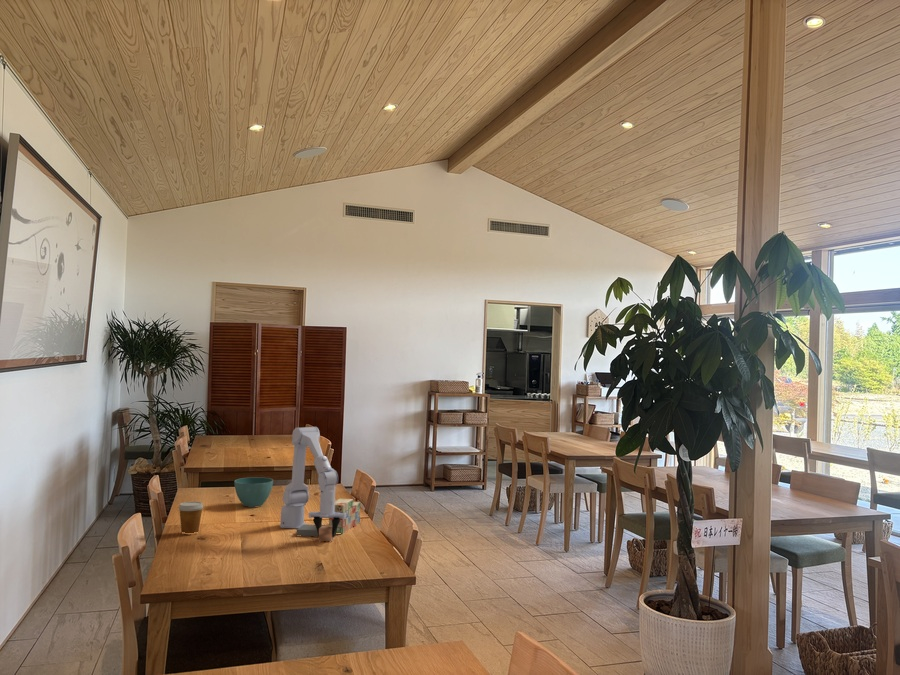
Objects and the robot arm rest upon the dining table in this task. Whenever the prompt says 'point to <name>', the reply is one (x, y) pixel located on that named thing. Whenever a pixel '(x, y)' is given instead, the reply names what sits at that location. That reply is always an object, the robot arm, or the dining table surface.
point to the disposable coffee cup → (190, 516)
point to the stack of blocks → (347, 514)
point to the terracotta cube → (325, 533)
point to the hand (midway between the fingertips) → (326, 536)
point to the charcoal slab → (307, 530)
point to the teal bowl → (253, 490)
